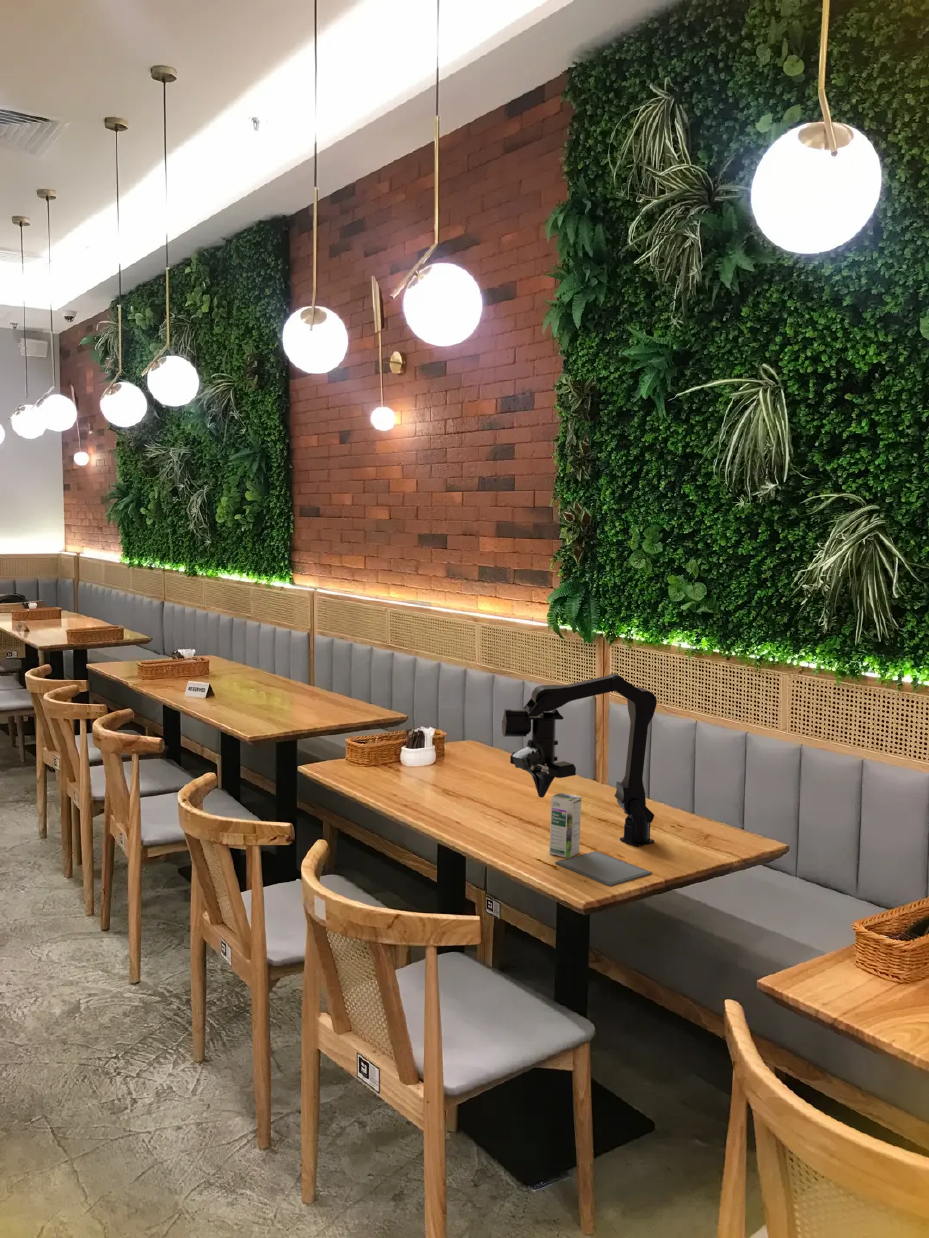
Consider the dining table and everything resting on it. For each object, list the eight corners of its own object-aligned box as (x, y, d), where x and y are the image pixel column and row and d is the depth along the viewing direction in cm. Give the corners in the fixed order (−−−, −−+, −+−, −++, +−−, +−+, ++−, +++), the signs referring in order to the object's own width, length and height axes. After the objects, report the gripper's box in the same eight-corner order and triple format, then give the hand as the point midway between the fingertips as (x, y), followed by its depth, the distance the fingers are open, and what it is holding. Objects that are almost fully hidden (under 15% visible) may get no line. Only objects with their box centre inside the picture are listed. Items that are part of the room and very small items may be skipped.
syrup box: (548, 854, 235) (550, 796, 234) (559, 847, 240) (561, 791, 239) (569, 859, 232) (571, 800, 231) (580, 852, 237) (582, 795, 235)
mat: (596, 852, 237) (596, 850, 237) (651, 873, 223) (652, 871, 223) (554, 863, 228) (554, 861, 228) (610, 886, 214) (610, 884, 214)
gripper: (494, 733, 243) (493, 793, 244) (545, 747, 228) (543, 811, 230) (527, 728, 250) (525, 787, 251) (578, 741, 235) (576, 803, 237)
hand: (541, 797), depth 242 cm, fingers closed
